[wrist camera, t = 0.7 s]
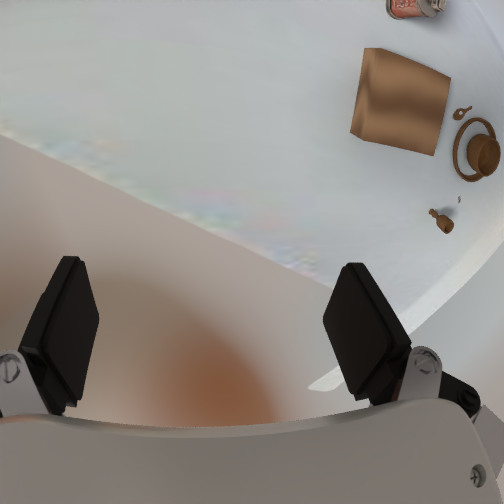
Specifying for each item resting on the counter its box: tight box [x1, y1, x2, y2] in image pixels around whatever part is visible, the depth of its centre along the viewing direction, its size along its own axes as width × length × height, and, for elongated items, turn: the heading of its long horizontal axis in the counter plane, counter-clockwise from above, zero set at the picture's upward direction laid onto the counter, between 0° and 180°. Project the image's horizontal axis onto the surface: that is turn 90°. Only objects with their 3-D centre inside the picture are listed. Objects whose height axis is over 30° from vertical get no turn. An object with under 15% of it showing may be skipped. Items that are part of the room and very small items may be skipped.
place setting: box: [429, 106, 501, 234], centre depth 38 cm, size 18×20×6 cm
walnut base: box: [350, 48, 451, 156], centre depth 32 cm, size 12×12×4 cm
